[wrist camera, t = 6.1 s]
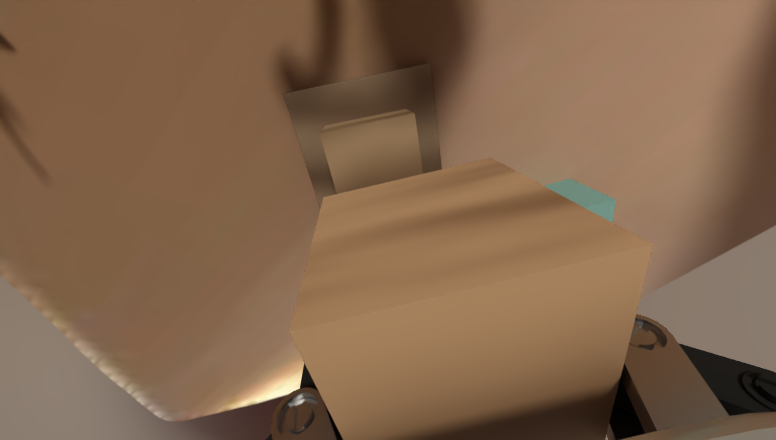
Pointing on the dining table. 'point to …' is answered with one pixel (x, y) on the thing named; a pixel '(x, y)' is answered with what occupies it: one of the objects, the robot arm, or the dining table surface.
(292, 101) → the pedestal board
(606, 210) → the teal brick
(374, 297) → the tan block
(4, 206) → the dining table surface
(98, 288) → the dining table surface
